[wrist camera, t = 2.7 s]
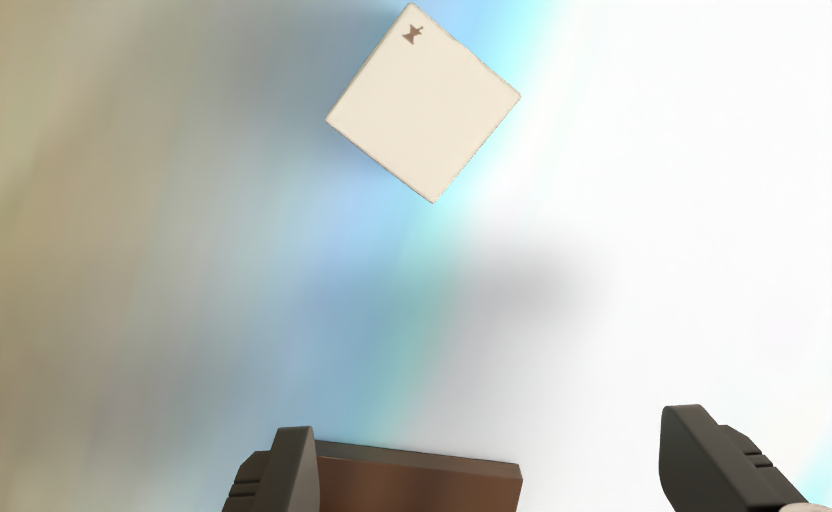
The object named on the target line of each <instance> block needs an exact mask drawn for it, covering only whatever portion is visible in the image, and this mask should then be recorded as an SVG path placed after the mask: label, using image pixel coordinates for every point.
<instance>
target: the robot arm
mask: <svg viewBox="0 0 832 512" xmlns="http://www.w3.org/2000/svg"><path fill="white" fill-rule="evenodd" d="M659 476H660V481H661V485H662V488H663V491H664V493H665V495H666V497H667V499H668V500H669V502H670V503H671V505H672V507H673V508H674V510H675V512H832V509H831V508H828V507H825V506H822V505H818V504H812V503H809V502H808V501H807V500H806V499H805V498H804V497H803V496H802V495H801V493H800V492H799V491H798V490H797V489H796V488H795V487H794V486H793V485H792V484H791V483H790V482H789V481H788V480H787V478H786V477H785V476H784V475H783V474H782V473H781V472H780V471H779V470H778V469H777V468H776V467H773V463H772V462H771V461H770V460H769V459H768V458H767V457H766V456H765V455H762V452H761V450H760V449H759V448H758V447H757V446H756V445H755V444H754V443H753V442H752V441H751V440H750V439H749V438H748V437H747V436H745V435H744V434H742V433H740V432H738V431H737V430H735V429H733V428H731V427H730V426H728V425H718V424H717V423H716V421H715V420H714V419H713V418H712V417H711V416H710V415H709V413H708V412H707V411H706V410H705V409H704V408H703V407H702V406H701V405H699V404H694V405H676V406H665V407H664V409H663V411H662V417H661V434H660V450H659ZM319 507H320V487H319V477H318V468H317V459H316V450H315V442H314V434H313V429H312V427H311V426H300V427H282V428H278V430H277V433H276V436H275V439H274V441H273V444H272V447H271V450H269V451H255V452H254V453H253V454H252V455H251V456H250V457H249V458H248V459H247V460H246V461H245V462H244V463H243V464H242V465H241V466H240V468H239V470H238V473H237V475H236V478H235V480H234V484H233V485H232V487H231V490H230V492H229V497H228V498H227V499H226V502H225V504H224V507H223V509H222V512H319Z"/></svg>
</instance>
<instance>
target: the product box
mask: <svg viewBox="0 0 832 512" xmlns="http://www.w3.org/2000/svg"><path fill="white" fill-rule="evenodd" d="M520 99H521V94H520V93H519V92H518V91H517V90H515V89H514V88H513V87H512V86H510V85H509V84H508V83H507V82H506V81H505V80H503V79H502V78H501V77H500V76H499V75H497V74H496V73H495V72H494V71H493V70H492V69H490V68H489V67H488V66H487V65H486V64H484V63H483V62H482V61H481V60H480V59H478V58H477V57H476V56H475V55H474V54H473V53H472V52H471V51H469V50H468V49H467V48H466V47H465V46H463V45H462V44H461V43H460V42H458V41H457V40H456V39H455V38H454V37H453V36H451V35H450V34H449V33H448V32H447V31H446V30H445V29H443V28H442V27H441V26H440V25H439V24H438V23H436V22H435V21H434V20H433V19H432V18H431V17H429V16H428V15H427V14H426V13H425V12H423V11H422V10H421V9H420V8H419V7H418V6H416V5H415V4H413V3H409V4H407V5H406V6H405V8H404V9H403V10H402V12H401V13H400V15H399V16H398V17H397V19H396V20H395V21H394V23H393V24H392V25H391V27H390V28H389V30H388V31H387V32H386V34H385V35H384V36H383V37H382V39H381V40H380V41H379V43H378V44H377V46H376V47H375V48H374V50H373V51H372V52H371V54H370V55H369V56H368V58H367V59H366V61H365V62H364V63H363V65H362V66H361V68H360V69H359V70H358V72H357V73H356V75H355V76H354V77H353V79H352V80H351V81H350V83H349V84H348V86H347V87H346V89H345V90H344V92H343V93H342V94H341V96H340V97H339V99H338V100H337V101H336V103H335V104H334V106H333V107H332V109H331V110H330V112H329V113H328V114H327V116H326V117H325V121H326V122H327V123H328V124H329V125H331V126H332V127H333V128H334V129H335V130H337V131H338V132H339V133H340V134H342V135H343V136H344V137H345V138H347V139H348V140H349V141H350V142H352V143H353V144H354V145H355V146H357V147H358V148H359V149H360V150H362V151H363V152H364V153H366V154H367V155H368V156H369V157H371V158H372V159H373V160H375V161H376V162H377V163H378V164H380V165H381V166H382V167H384V168H385V169H386V170H387V171H389V172H390V173H391V174H393V175H394V176H395V177H397V178H398V179H399V180H400V181H402V182H403V183H404V184H406V185H407V186H408V187H410V188H411V189H412V190H414V191H415V192H416V193H418V194H419V195H420V196H422V197H423V198H425V199H426V200H428V201H429V202H430V203H435V202H436V201H437V199H438V198H439V197H440V196H441V195H442V193H443V192H444V191H445V190H446V188H447V187H448V186H449V185H450V184H451V182H452V181H453V180H454V179H455V177H456V176H457V175H458V174H459V173H460V171H461V170H462V169H463V168H464V167H465V165H466V164H467V163H468V162H469V160H470V159H471V158H472V157H473V156H474V154H475V153H476V152H477V151H478V149H479V148H480V147H481V146H482V145H483V143H484V142H485V141H486V140H487V139H488V137H489V136H490V135H491V134H492V132H493V131H494V130H495V129H496V128H497V126H498V125H499V124H500V123H501V121H502V120H503V119H504V118H505V116H506V115H507V114H508V113H509V111H510V110H511V109H512V108H513V107H514V106H515V104H516V103H517V102H518V101H519V100H520Z"/></svg>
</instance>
